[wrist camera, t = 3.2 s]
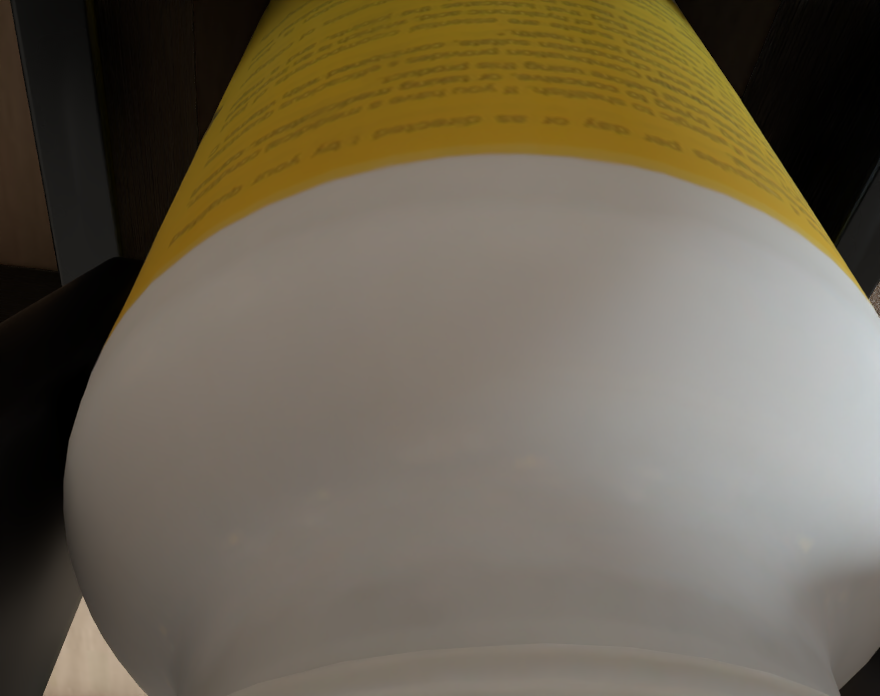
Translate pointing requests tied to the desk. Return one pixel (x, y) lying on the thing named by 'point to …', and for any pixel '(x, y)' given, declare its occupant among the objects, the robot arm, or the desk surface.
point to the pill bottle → (483, 378)
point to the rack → (176, 137)
